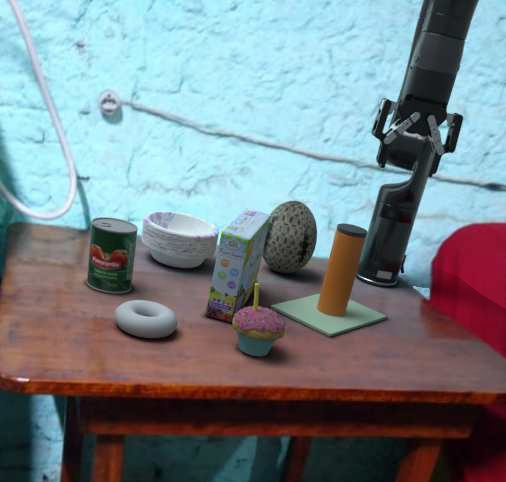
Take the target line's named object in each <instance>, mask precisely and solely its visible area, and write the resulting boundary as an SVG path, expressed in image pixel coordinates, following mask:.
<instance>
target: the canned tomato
mask: <svg viewBox="0 0 506 482" xmlns="http://www.w3.org/2000/svg"><path fill="white" fill-rule="evenodd" d="M90 223H91V225H90V236H89V239H90V240H89V249H88V252H89V253H88V263H87V275H86V276H87V277H86V285H87V286H88V287H89V288H90V289H93V290H95V291H97V292H101V293H105V294H112V295H120V294H121V295H122V294H128V293H129V292H130V291H131V290H132V283H133V276H134V275H133V274H134V266H135V255H136V249H137V247H136V246H137V238H138V230H139V227H138V226H137V225H136V224H135V223H132V222H130V221H128V220H125V219H121V218H116V217H107V216H106V217H104V216H103V217H102V216H101V217H94V218H92V219H91V221H90Z"/></svg>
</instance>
